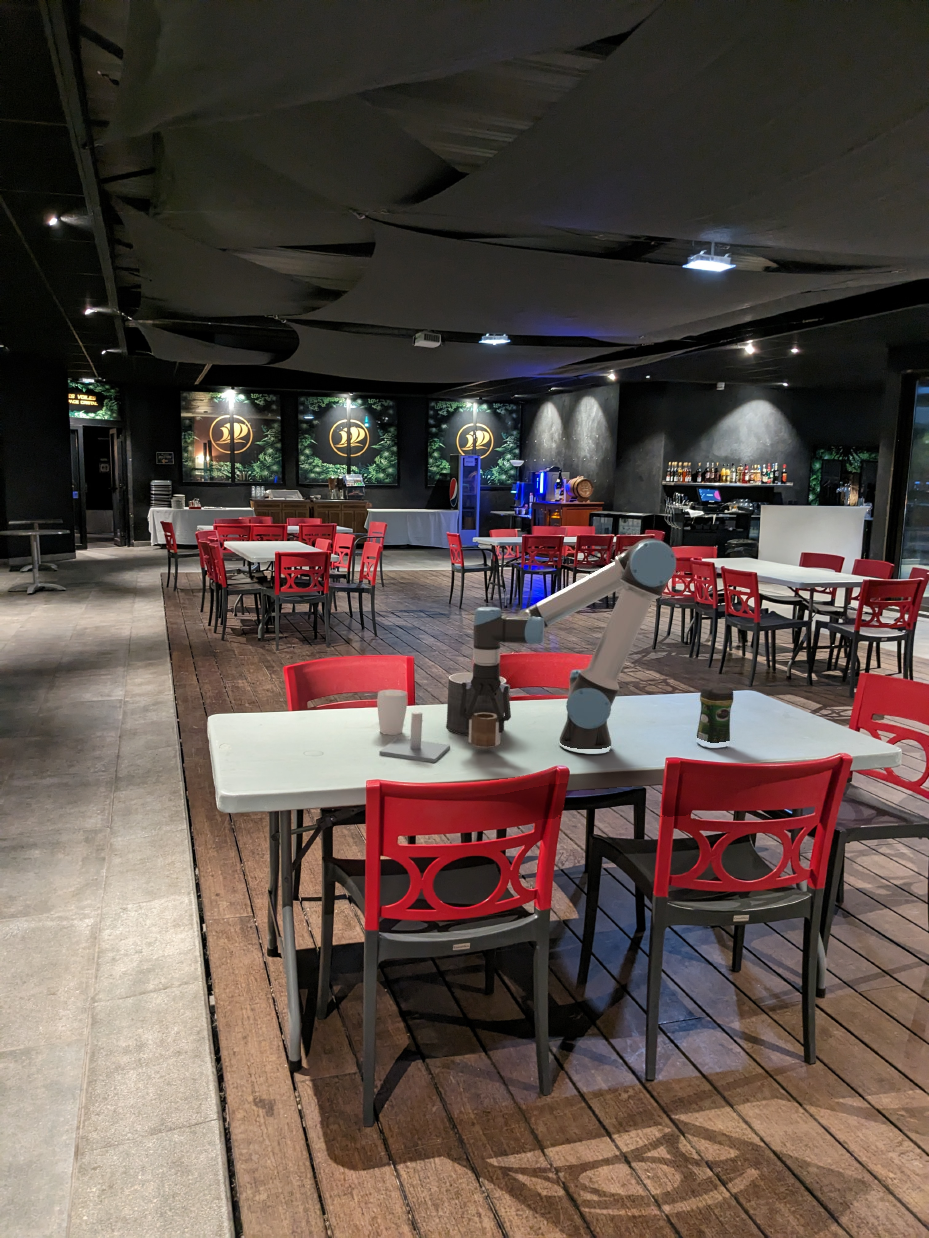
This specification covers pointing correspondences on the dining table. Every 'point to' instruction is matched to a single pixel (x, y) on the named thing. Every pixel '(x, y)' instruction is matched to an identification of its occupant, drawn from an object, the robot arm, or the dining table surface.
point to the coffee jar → (715, 714)
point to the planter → (455, 697)
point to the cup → (391, 710)
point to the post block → (415, 744)
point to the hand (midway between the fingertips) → (484, 742)
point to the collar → (483, 729)
